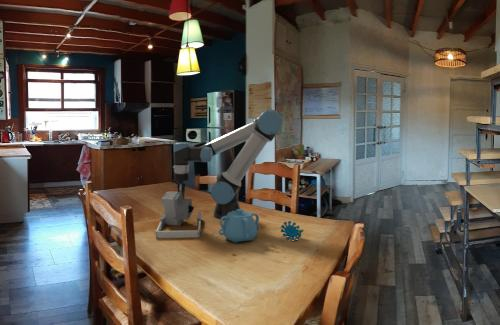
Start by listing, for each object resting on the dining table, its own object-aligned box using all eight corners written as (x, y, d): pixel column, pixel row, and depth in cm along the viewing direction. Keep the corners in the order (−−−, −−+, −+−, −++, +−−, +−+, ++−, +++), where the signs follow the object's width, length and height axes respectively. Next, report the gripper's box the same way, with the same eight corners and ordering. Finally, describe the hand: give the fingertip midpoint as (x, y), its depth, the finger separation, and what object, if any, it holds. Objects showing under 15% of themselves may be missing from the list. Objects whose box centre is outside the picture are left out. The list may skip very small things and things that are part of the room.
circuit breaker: (192, 226, 199) (188, 200, 193) (165, 224, 202) (160, 198, 196) (196, 218, 206) (193, 192, 200) (170, 216, 209) (166, 191, 202)
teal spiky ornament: (283, 239, 176) (280, 219, 182) (278, 245, 180) (275, 225, 186) (306, 240, 179) (302, 221, 185) (301, 246, 183) (297, 227, 189)
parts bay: (200, 226, 199) (200, 220, 199) (199, 237, 183) (199, 230, 182) (160, 227, 197) (160, 221, 197) (155, 238, 181) (155, 231, 180)
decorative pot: (214, 241, 178) (214, 211, 176) (233, 231, 192) (233, 203, 190) (246, 247, 170) (246, 216, 169) (263, 236, 184) (263, 207, 183)
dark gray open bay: (201, 219, 212) (201, 212, 212) (200, 226, 199) (200, 218, 199) (163, 220, 210) (163, 212, 210) (160, 227, 197) (160, 219, 197)
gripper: (175, 170, 212) (175, 214, 215) (172, 174, 199) (172, 220, 202) (189, 170, 213) (189, 214, 216) (187, 174, 200) (188, 220, 203)
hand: (181, 217), depth 209 cm, fingers closed
